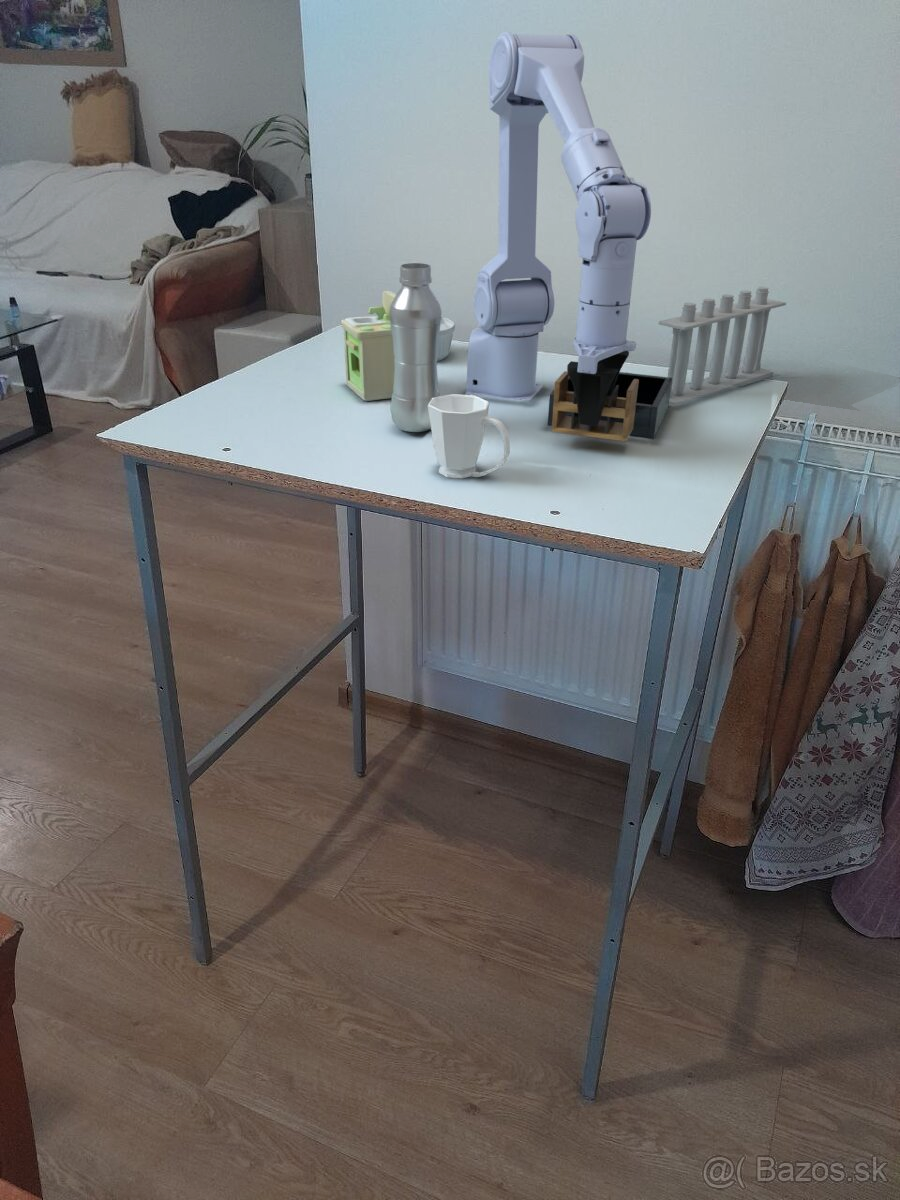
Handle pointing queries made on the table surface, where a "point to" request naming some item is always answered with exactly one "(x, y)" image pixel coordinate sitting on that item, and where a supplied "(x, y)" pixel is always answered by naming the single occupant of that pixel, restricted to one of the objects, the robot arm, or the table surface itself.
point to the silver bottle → (414, 348)
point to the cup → (461, 433)
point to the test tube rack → (719, 344)
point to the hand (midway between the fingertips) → (593, 417)
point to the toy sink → (370, 352)
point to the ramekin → (445, 337)
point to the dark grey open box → (637, 402)
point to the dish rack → (603, 428)
